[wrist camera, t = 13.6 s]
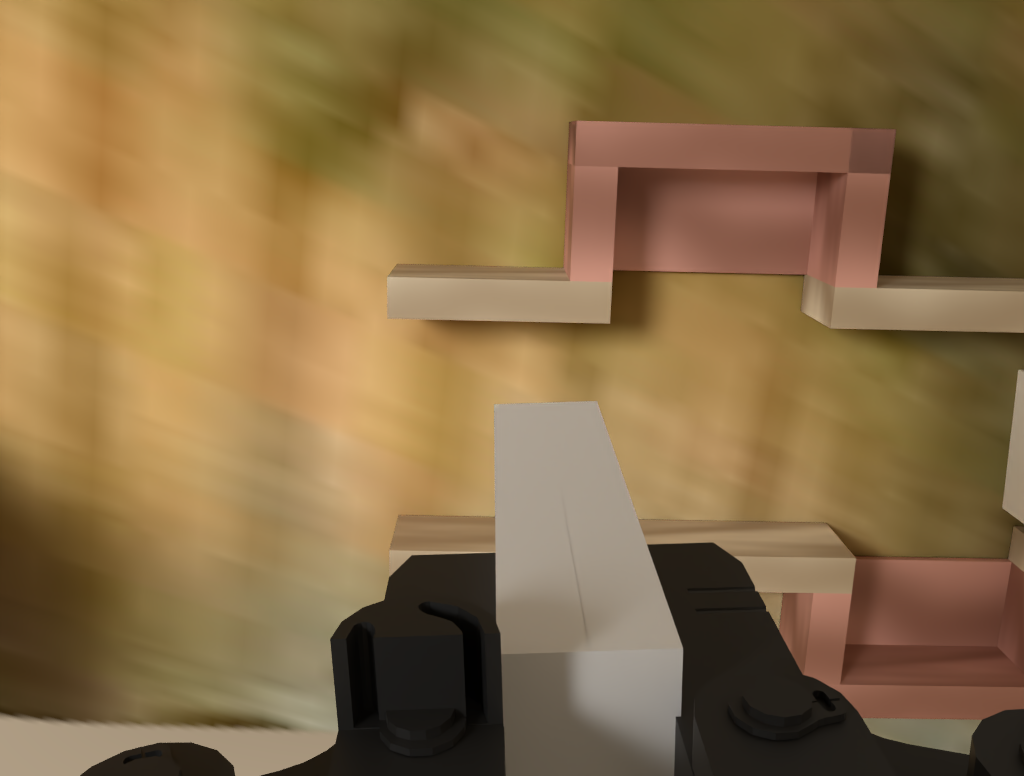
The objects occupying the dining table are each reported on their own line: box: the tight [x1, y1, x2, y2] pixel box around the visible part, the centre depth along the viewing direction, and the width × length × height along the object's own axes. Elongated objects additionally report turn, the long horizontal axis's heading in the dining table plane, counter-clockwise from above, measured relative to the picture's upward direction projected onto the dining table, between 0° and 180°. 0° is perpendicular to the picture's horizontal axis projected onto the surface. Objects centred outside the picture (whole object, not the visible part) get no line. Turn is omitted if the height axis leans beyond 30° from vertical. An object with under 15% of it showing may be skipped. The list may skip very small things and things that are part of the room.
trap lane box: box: [387, 121, 1024, 720], centre depth 36 cm, size 23×34×6 cm
